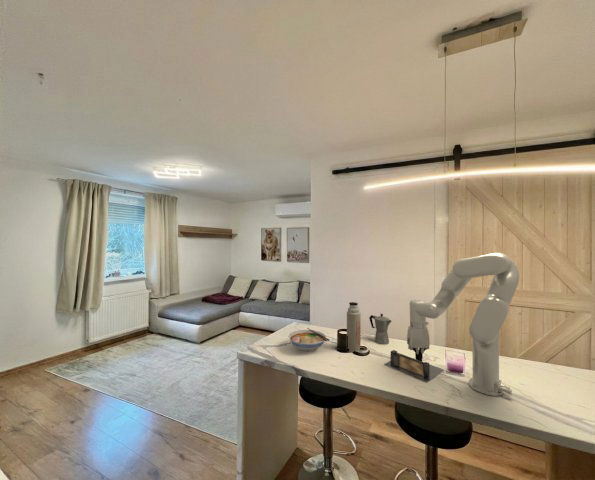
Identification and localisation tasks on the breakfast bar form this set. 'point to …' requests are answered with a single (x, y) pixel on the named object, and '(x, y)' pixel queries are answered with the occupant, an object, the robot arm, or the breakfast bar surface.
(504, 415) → the breakfast bar surface
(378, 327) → the coffeepot
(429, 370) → the gate frame
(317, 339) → the ramen bowl
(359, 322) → the thermos bottle
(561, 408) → the breakfast bar surface
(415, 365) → the gate
